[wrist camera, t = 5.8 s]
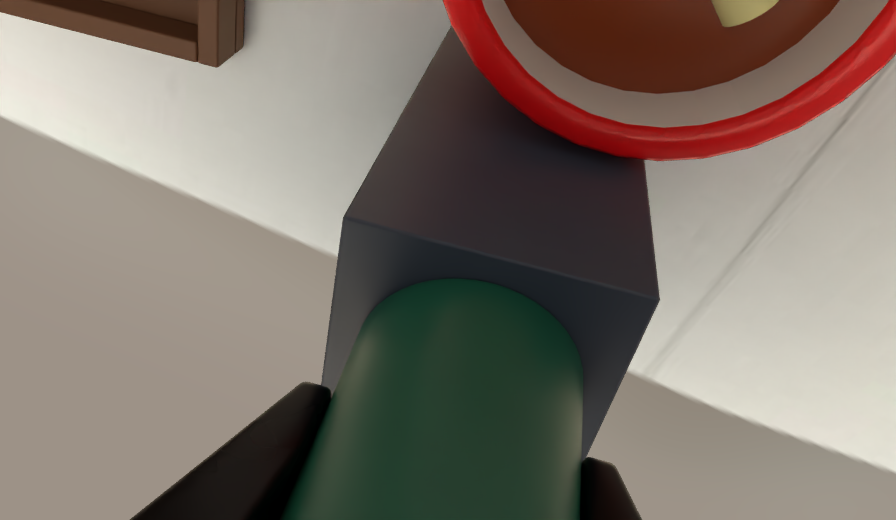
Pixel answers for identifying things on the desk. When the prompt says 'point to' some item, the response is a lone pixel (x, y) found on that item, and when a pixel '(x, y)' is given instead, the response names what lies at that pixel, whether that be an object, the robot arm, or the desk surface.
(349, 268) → the stand
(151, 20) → the tray
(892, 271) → the desk surface
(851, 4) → the mug
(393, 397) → the green bottle
